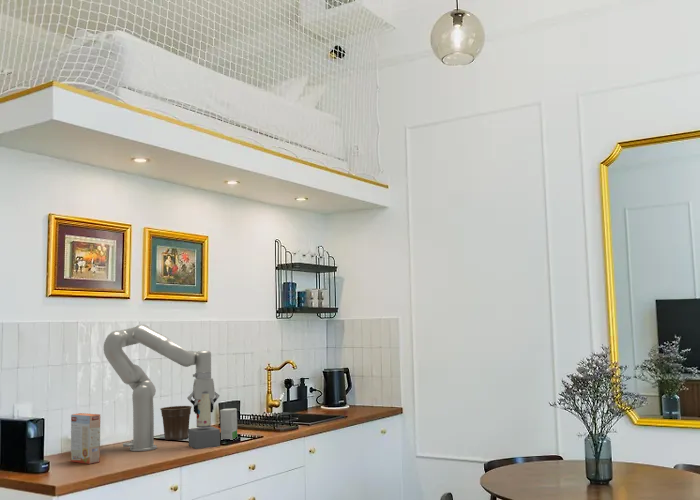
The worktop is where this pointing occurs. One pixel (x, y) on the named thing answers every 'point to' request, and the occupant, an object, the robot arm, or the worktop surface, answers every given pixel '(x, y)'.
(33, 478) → the worktop surface
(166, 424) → the plant pot
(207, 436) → the stand
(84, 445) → the cracker box
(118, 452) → the worktop surface
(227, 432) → the skincare box
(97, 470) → the worktop surface
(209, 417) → the aerosol can
